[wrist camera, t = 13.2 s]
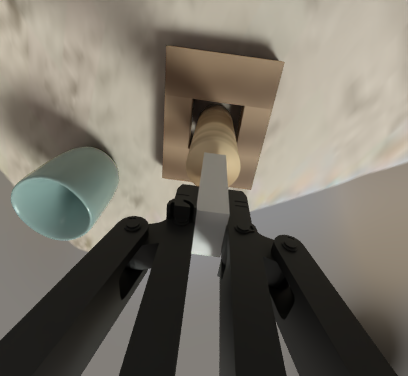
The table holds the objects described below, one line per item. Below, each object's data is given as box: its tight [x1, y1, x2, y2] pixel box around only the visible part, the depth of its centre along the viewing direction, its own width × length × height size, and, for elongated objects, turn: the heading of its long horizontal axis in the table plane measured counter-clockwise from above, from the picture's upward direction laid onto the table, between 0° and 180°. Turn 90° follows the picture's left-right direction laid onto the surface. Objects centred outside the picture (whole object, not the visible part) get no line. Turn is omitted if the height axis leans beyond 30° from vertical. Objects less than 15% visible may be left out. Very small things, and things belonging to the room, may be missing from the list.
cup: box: [11, 146, 119, 240], centre depth 27 cm, size 8×8×10 cm
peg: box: [186, 105, 240, 187], centre depth 22 cm, size 4×4×12 cm
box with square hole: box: [162, 45, 285, 190], centre depth 26 cm, size 14×11×2 cm
